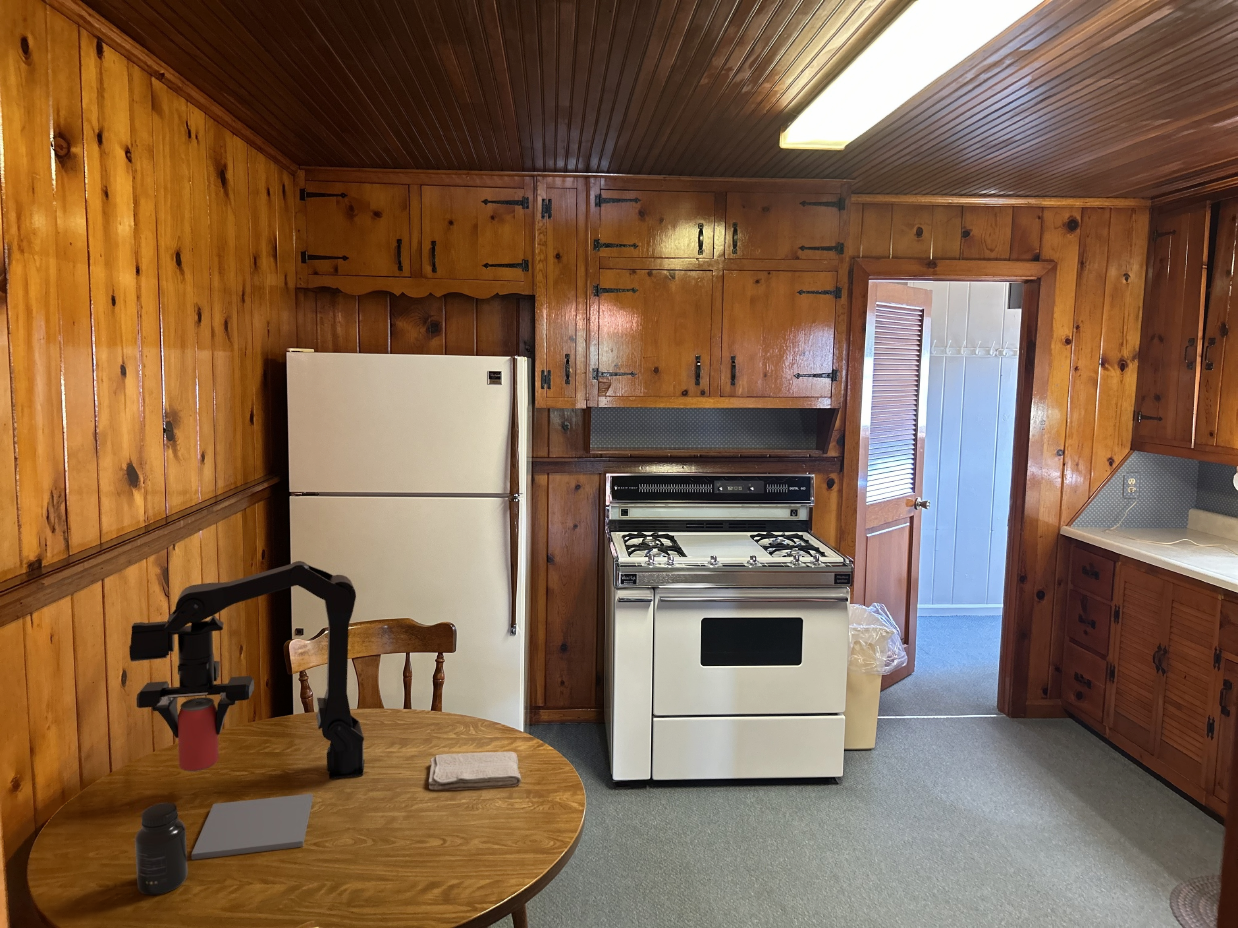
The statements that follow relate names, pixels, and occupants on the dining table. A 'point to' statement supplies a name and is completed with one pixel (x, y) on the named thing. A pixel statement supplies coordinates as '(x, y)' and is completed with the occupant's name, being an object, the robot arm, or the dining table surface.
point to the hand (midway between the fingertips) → (198, 735)
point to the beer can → (197, 734)
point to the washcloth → (474, 771)
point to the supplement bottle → (161, 850)
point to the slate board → (254, 826)
